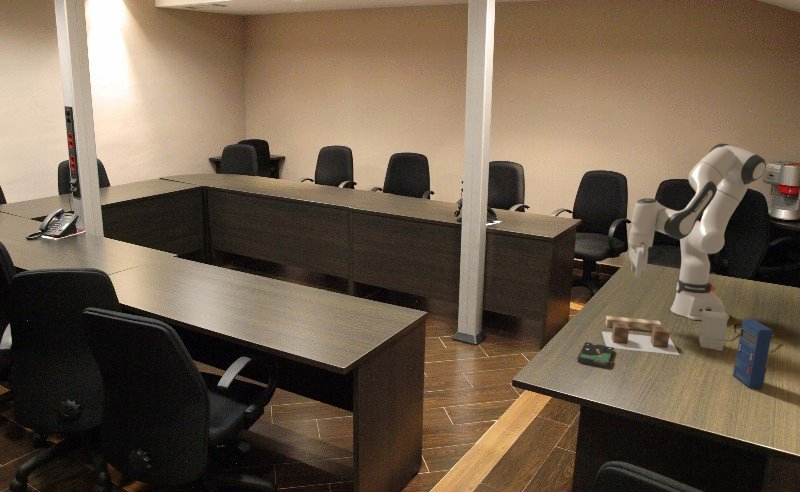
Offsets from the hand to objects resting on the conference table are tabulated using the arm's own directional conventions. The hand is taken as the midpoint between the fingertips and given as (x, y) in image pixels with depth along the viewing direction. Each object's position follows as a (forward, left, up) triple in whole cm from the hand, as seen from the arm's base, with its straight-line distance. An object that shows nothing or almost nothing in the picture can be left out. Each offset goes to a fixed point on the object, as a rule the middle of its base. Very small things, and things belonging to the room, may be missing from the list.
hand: (635, 274), depth 247 cm
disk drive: (+16, +36, -22) cm, 45 cm away
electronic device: (-31, +43, -22) cm, 57 cm away
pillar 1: (+6, +19, -21) cm, 29 cm away
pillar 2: (-8, +19, -21) cm, 29 cm away
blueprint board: (-1, +19, -21) cm, 29 cm away
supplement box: (-27, +14, -22) cm, 37 cm away
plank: (-1, +3, -22) cm, 22 cm away
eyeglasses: (-43, +4, -22) cm, 48 cm away
